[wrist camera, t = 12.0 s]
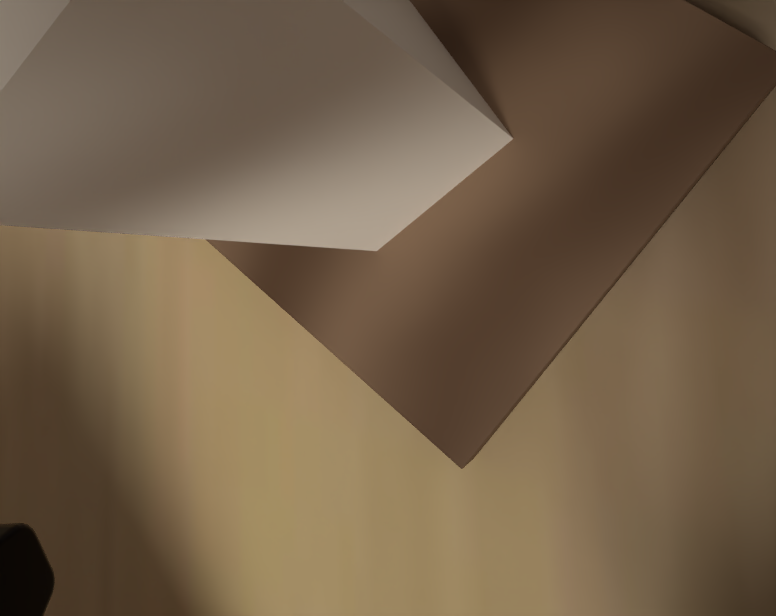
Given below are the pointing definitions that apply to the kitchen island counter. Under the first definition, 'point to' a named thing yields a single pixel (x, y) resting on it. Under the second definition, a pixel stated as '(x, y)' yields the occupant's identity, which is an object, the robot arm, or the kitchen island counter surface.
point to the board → (526, 203)
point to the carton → (233, 119)
